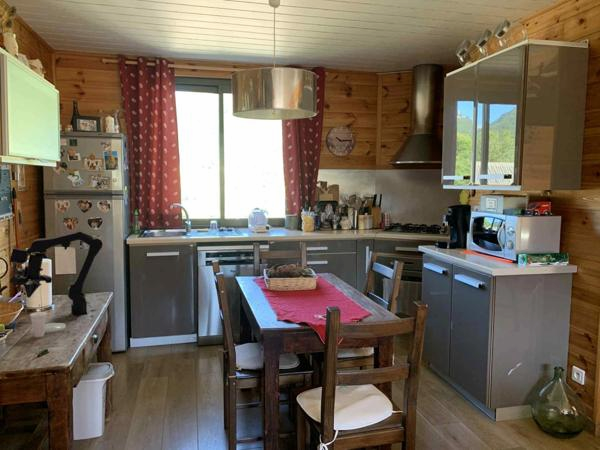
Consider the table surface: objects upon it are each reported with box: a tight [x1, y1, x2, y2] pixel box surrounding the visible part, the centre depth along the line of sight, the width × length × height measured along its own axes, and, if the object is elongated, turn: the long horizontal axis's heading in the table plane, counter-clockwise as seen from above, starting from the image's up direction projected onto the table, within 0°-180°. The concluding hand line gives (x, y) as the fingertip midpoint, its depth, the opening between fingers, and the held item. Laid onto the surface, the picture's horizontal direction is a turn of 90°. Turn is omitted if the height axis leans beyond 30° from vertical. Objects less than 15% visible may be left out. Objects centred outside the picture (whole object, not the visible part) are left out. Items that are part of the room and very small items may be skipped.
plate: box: [44, 322, 67, 334], centre depth 210 cm, size 11×11×1 cm
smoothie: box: [29, 303, 48, 338], centre depth 200 cm, size 6×6×14 cm
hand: (28, 297), depth 223 cm, fingers closed
